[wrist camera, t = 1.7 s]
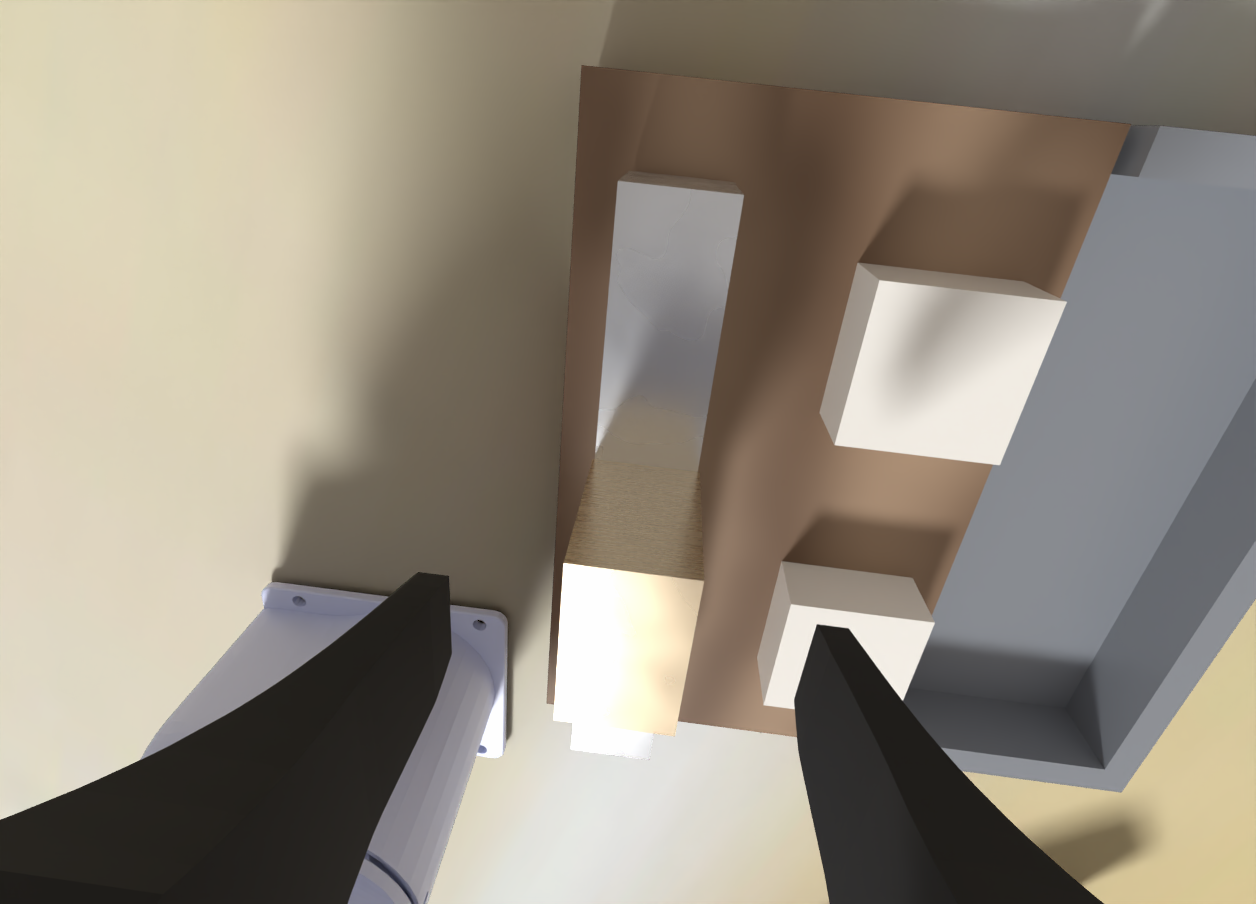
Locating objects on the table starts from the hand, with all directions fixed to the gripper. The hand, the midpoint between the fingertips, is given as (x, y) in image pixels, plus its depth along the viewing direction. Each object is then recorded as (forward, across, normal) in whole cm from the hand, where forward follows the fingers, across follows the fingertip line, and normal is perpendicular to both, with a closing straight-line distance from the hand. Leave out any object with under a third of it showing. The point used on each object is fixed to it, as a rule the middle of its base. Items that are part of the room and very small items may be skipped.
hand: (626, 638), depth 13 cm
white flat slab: (+7, 0, 0) cm, 7 cm away
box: (+9, -14, 0) cm, 17 cm away
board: (+9, -4, 0) cm, 10 cm away
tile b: (+7, -6, -4) cm, 10 cm away
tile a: (+7, -6, +4) cm, 10 cm away
